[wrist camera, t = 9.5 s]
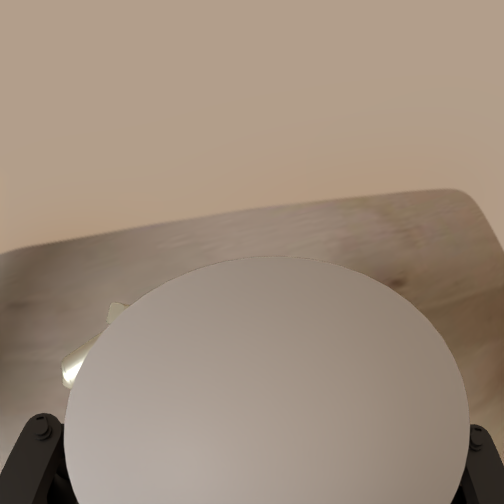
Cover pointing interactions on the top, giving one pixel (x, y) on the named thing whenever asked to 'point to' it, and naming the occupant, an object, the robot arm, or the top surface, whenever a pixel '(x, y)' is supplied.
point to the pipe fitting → (85, 349)
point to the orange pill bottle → (268, 394)
